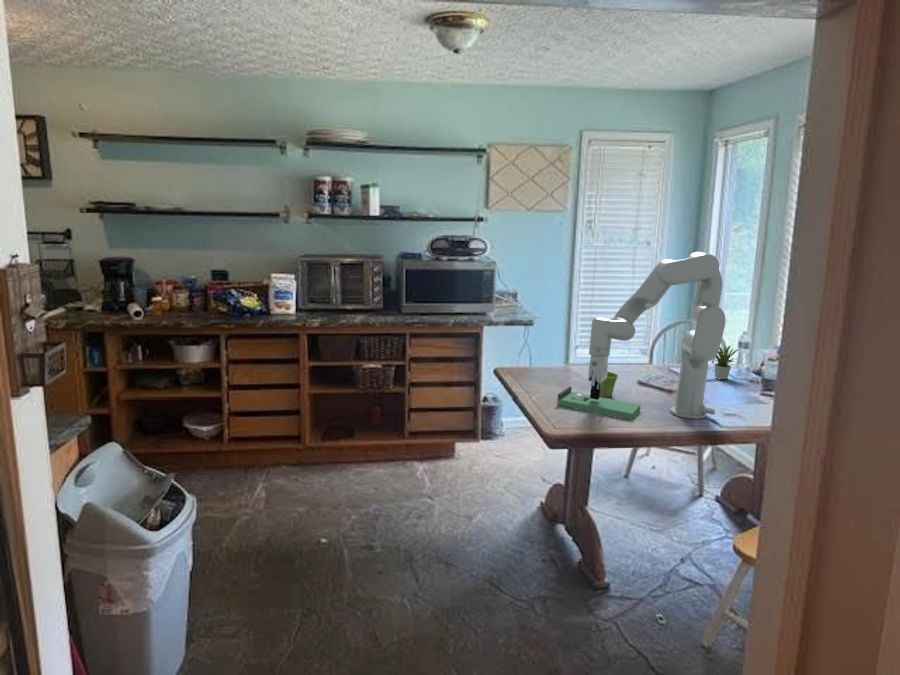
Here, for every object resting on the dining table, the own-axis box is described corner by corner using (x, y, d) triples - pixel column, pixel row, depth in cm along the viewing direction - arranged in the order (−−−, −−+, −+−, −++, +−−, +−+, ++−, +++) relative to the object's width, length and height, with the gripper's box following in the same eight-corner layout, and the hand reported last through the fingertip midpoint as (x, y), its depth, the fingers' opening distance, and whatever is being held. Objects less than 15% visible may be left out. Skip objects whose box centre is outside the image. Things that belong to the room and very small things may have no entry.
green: (639, 410, 244) (641, 399, 243) (631, 419, 233) (633, 408, 232) (568, 397, 257) (569, 386, 256) (557, 405, 246) (558, 394, 245)
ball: (586, 394, 248) (576, 391, 250) (582, 396, 245) (572, 394, 247) (584, 404, 249) (574, 401, 251) (581, 406, 246) (571, 404, 247)
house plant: (734, 375, 306) (739, 341, 302) (744, 383, 292) (749, 348, 289) (703, 373, 307) (707, 339, 304) (711, 381, 293) (716, 345, 290)
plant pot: (616, 393, 266) (618, 372, 264) (615, 399, 257) (618, 378, 255) (593, 390, 268) (595, 370, 267) (591, 396, 259) (593, 375, 258)
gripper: (604, 356, 233) (598, 405, 237) (614, 349, 246) (609, 395, 250) (583, 352, 236) (578, 401, 240) (595, 346, 249) (590, 392, 253)
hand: (594, 398), depth 245 cm, fingers closed
